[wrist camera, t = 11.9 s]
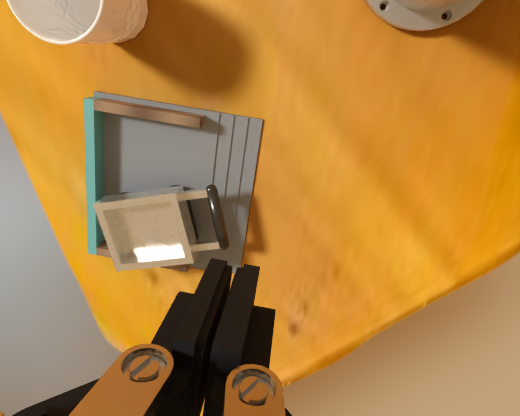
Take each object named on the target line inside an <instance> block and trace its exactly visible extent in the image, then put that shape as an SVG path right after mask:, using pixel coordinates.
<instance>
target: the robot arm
mask: <svg viewBox="0 0 520 416" xmlns="http://www.w3.org/2000/svg"><path fill="white" fill-rule="evenodd" d="M483 1H484V0H365V2H366V3H367V5H368V6H369V7H370V9H371V10H372V11H373V12H374V13H375V14H376V15H377V16H378V17H379V18H381V19H382V20H383V21H384V22H386V23H388V24H390V25H392V26H394V27H396V28H400V29H404V30H407V31H426V30H433V29H437V28H440V27H444V26H447V25H449V24H451V23H453V22H456V21H458V20H460V19H461V18H463V17H464V16H466V15H467V14H469V13H470V12H472V11H473V10H474V9H475V8H476V7H477V6H478V5H479V4H480V3H481V2H483ZM381 4H384V5H385V9H384V10H381V9H380V6H381ZM442 14H446V18H445V19H444V20H443V19H442ZM259 270H260V267H258V266H252V265H247V264H244V266H243V268H240V267H237V269H236V272H235V275H234V278H233V282H232V285H231V288H230V283H231V276H232V266H229V265H227V261H225V260H220V259H215V258H211V259H210V261H209V263H208V266H207V268H206V270H205V272H204V274H203V276H202V278H201V280H200V283H199V285H198V287H197V289H196V291H195V293H194V294H191V293H186V292H181V291H180V292H179V293H178V294H177V296H176V298H175V300H174V302H173V303H172V305H171V307H170V309H169V311H168V313H167V314H166V316H165V318H164V320H163V322H162V324H161V326H160V327H159V329H158V331H157V333H156V335H155V337H154V339H153V340H152V342H151V344H140V345H137V346H133V347H131V348H129V349H127V350H126V351H124V352H123V353H122V354H121V355H120V356H119V357H118V358H117V360H116V361H115V362H114V363H113V364H112V365H111V367H110V368H109V369H108V370H107V371H106V372H105V374H104V375H103V376H102V377H101V378H100V379H97V380H95V381H92V382H90V383H87V384H85V385H82V386H80V387H78V388H75V389H72V390H70V391H68V392H65V393H62V394H60V395H57V396H55V397H52V398H50V399H47V400H45V401H42V402H40V403H38V404H35V405H33V406H30V407H28V408H25V409H24V410H21V411H19V412H18V413H16V414H14V415H13V416H200V413H201V409H202V406H203V403H204V399H205V403H204V411H203V416H292V415H291V414H290V413H289V412H288V410H287V409H286V408H285V407H284V398H283V388H282V385H281V382H280V380H279V378H278V377H277V376H276V374H275V373H273V372H272V371H271V370H270V369H269V363H270V355H271V346H272V337H273V328H274V320H275V309H270V308H265V307H259V306H254V299H255V293H256V288H257V282H258V276H259ZM229 290H230V291H229ZM0 416H4V413H3V412H0Z"/></svg>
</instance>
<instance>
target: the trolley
mask: <svg viewBox="0 0 520 416" xmlns="http://www.w3.org/2000/svg"><path fill="white" fill-rule="evenodd" d="M206 197H207V199H208V203H209V207H210V211H211V216H212V220H213V224H214V228H215V233H216V237H217V239H215V240H206V241H198V239H199V236H198V231H197V227H196V223H195V219H194V215H193V211H192V207H191V203H190V200H191V199H199V198H206ZM93 206H94V209H95V212H96V214H97V217H98V220H99V223H100V226H101V229H102V232H103V234H104V237H105V240H106V243H107V246H108V249H109V251H110V254H111V257H112V260H113V263H114V266H115V269H116V271H124V270H134V269H144V268H154V267H163V266H173V265H183V264H192V263H194V262H195V260H196V259H197V257H198V255H199V253H200V252H199V251H204V250H213V249H221V250H227V249H228V248H229V246H230V244H229V239H228V235H227V231H226V226H225V222H224V217H223V213H222V208H221V204H220V199H219V195H218V190H217V187H216V186H215V185H213V184H210V185H208V186H207V187H206V188H201V189H194V190H186V189H185V188H184V187H183V186H180V185H172V186H170V187H168V188H161V189H154V190H147V191H140V192H132V193H130V192H122V193H120V194H118V195H111V196H104V197H103V198H101V199H100V200H98V201H97V202H95V203H94V204H93Z"/></svg>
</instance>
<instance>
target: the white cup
mask: <svg viewBox="0 0 520 416" xmlns="http://www.w3.org/2000/svg"><path fill="white" fill-rule="evenodd" d="M7 2H8V4H9V7H10V8H11V10H12V12H13V14H14V15H15V17H16V18H17V19H18V21H19V22H20V23H21V24H22V25H23V26H24V27H25V28H26V29H27V30H28V31H29V32H31V33H32V34H33V35H35V36H36V37H38V38H40V39H42V40H44V41H46V42H49V43H53V44H60V45H68V44H107V43H121V42H124V41H127V40H130V39H133V38H135V37H136V36H137V34H138V33H139V32H140V31H141V30H142V29H143V28H144V26H145V22H146V18H147V14H148V5H147V0H7Z"/></svg>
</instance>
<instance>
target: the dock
mask: <svg viewBox="0 0 520 416" xmlns="http://www.w3.org/2000/svg"><path fill="white" fill-rule="evenodd" d="M84 118H85V153H86V188H87V222H88V253H89V254H94V255H99V256H105V257H110V258H112V257H111V254H110V251H109V249H108V246H107V243H106V240H105V237H104V234H103V232H102V229H101V226H100V223H99V220H98V217H97V214H96V212H95V209H94V206H93V204H94V203H95V202H97V201H98V200H100V199H101V198H103V197H104V196H111V195H118V194H120V193H122V192H130V193H132V192H140V191H147V190H154V189H161V188H168V187H170V186H172V185H180V186H183V187H184V188H185V189H186V190H194V189H201V188H206V187H207V186H208V185H210V184H213V185H215V186H216V187H217V190H218V195H219V199H220V204H221V208H222V213H223V217H224V222H225V226H226V231H227V235H228V239H229V244H230V246H229V248H228V249H227V250H221V249H213V250H204V251H199V252H200V253H199V255H198V257H197V259H196V260H195V262H194V263H192V264H183V265H173V266H163V267H162V268H168V269H173V270H178V271H183V272H187V271H188V269H189V267H193V268H199V269H206V268H207V266H208V263H209V261H210V259H211V258H215V259H220V260H225V261H227V265H229V266H232V273H235V272H236V269H237V267H240V268H241V262H242V255H243V249H244V242H245V235H246V229H247V222H248V216H249V209H250V202H251V196H252V189H253V182H254V176H255V169H256V163H257V156H258V149H259V143H260V136H261V130H262V123H263V119H257V118H251V117H246V116H240V115H234V114H228V113H222V112H216V111H210V110H204V109H199V108H193V107H187V106H181V105H175V104H169V103H163V102H158V101H152V100H146V99H140V98H134V97H128V96H122V95H116V94H111V93H105V92H99V91H95V92H94V97H88V98H84ZM190 203H191V207H192V211H193V215H194V219H195V223H196V227H197V231H198V236H199V239H198V241H206V240H215V239H217V237H216V233H215V228H214V224H213V220H212V216H211V211H210V207H209V203H208V199H207V197H206V198H199V199H191V200H190Z"/></svg>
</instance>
